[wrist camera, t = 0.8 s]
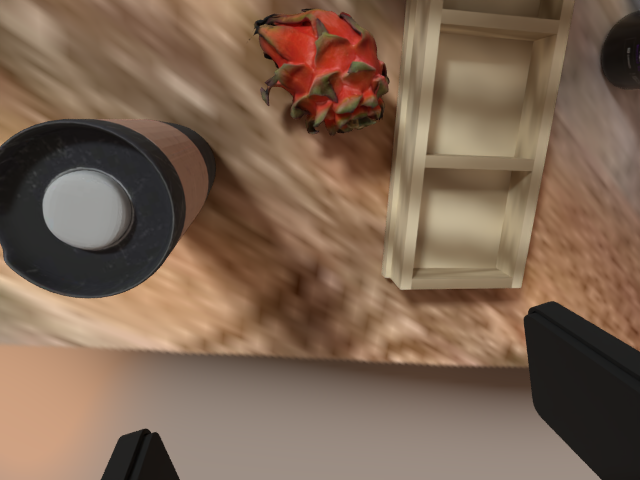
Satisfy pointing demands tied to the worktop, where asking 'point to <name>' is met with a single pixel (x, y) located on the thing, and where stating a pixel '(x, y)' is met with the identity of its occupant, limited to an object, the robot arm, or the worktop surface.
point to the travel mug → (99, 201)
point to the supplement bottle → (623, 53)
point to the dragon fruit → (325, 68)
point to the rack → (471, 139)
